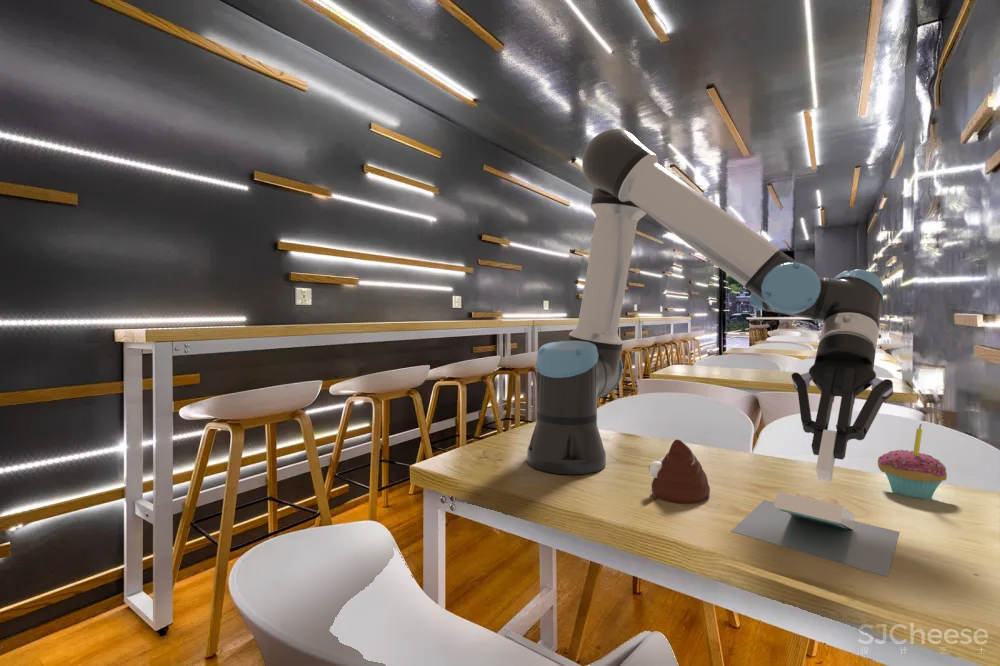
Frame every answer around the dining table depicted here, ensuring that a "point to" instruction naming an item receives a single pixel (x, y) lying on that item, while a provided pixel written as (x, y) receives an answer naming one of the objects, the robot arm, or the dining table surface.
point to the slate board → (822, 538)
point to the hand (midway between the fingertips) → (823, 475)
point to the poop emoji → (679, 476)
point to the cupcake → (912, 471)
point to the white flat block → (815, 510)
